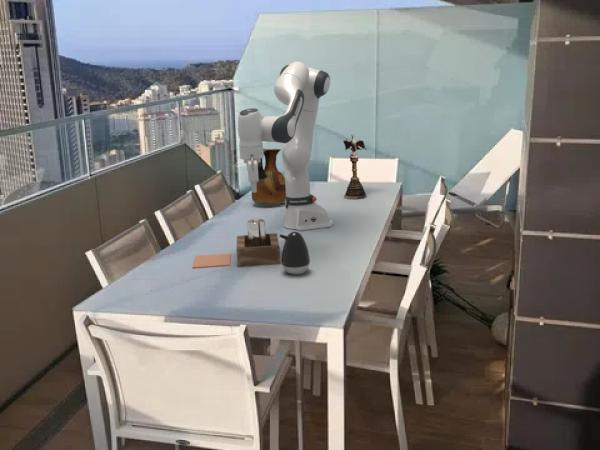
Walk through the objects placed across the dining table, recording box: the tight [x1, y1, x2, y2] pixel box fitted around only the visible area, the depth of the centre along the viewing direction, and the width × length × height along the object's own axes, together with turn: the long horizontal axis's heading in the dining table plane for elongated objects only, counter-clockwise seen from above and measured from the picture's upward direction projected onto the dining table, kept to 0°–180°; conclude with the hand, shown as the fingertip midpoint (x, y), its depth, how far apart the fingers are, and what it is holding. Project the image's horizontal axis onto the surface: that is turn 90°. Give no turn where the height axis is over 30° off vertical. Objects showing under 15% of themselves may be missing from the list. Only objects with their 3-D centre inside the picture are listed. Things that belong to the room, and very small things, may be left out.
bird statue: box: [342, 133, 368, 200], centre depth 334 cm, size 17×13×35 cm
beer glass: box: [247, 218, 267, 247], centre depth 239 cm, size 7×7×15 cm
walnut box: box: [236, 232, 281, 268], centre depth 240 cm, size 18×16×7 cm
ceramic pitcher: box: [251, 148, 286, 206], centre depth 326 cm, size 20×20×30 cm
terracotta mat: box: [192, 253, 231, 269], centre depth 240 cm, size 14×14×1 cm
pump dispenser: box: [279, 230, 311, 276], centre depth 221 cm, size 10×10×15 cm
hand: (254, 189), depth 234 cm, fingers open, 8 cm apart
